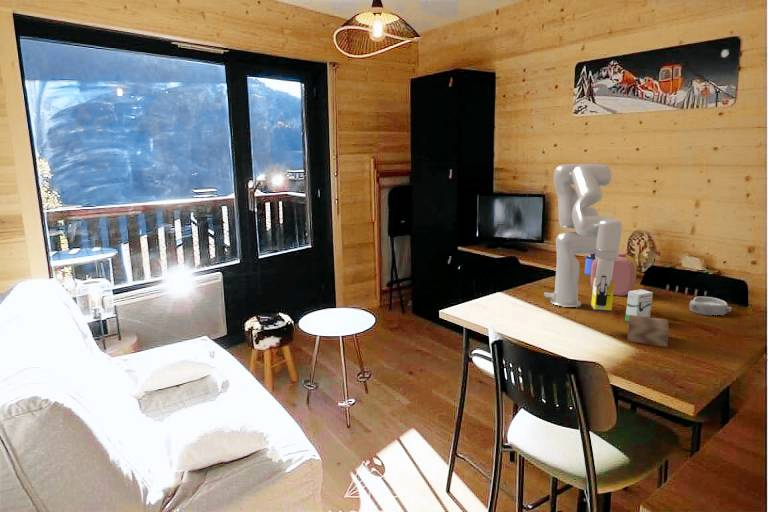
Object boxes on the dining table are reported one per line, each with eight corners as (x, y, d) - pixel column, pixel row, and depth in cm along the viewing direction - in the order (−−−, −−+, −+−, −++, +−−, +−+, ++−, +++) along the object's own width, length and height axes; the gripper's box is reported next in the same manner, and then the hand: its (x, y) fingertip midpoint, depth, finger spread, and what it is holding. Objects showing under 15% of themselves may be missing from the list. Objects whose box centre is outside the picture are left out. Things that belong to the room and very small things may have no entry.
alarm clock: (634, 293, 230) (638, 252, 226) (632, 298, 221) (636, 256, 217) (592, 287, 240) (596, 249, 236) (588, 292, 230) (592, 252, 227)
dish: (689, 314, 198) (691, 302, 197) (685, 305, 210) (687, 294, 210) (732, 319, 192) (734, 307, 191) (725, 309, 204) (727, 298, 203)
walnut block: (627, 340, 168) (628, 324, 167) (628, 330, 179) (629, 314, 177) (667, 346, 163) (669, 329, 162) (665, 335, 173) (667, 319, 172)
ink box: (635, 324, 185) (639, 294, 183) (624, 320, 190) (627, 291, 187) (650, 321, 189) (653, 291, 187) (638, 317, 194) (641, 288, 191)
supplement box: (611, 312, 173) (615, 283, 171) (593, 311, 175) (597, 282, 172) (607, 307, 179) (611, 278, 177) (590, 306, 180) (593, 277, 178)
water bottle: (586, 275, 264) (590, 230, 260) (582, 272, 274) (586, 228, 269) (604, 276, 263) (608, 230, 258) (599, 272, 272) (603, 228, 267)
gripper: (597, 248, 181) (592, 294, 185) (593, 258, 166) (588, 307, 170) (619, 250, 178) (614, 297, 182) (617, 260, 163) (611, 310, 167)
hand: (601, 301), depth 176 cm, fingers closed on supplement box, 7 cm apart
